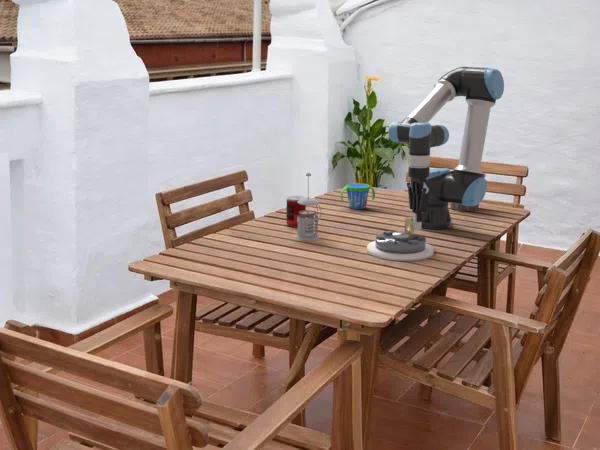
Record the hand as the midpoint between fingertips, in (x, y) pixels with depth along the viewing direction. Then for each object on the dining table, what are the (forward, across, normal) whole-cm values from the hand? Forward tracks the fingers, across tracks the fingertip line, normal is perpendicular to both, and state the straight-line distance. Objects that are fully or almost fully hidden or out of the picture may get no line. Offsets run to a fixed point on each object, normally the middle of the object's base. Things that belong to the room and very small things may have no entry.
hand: (417, 229), depth 309 cm
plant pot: (+7, +50, -54) cm, 74 cm away
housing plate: (+7, -2, +8) cm, 11 cm away
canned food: (+6, +49, +28) cm, 57 cm away
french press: (+7, +29, +30) cm, 43 cm away
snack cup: (+7, +67, -10) cm, 68 cm away
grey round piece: (+5, -2, +8) cm, 9 cm away
